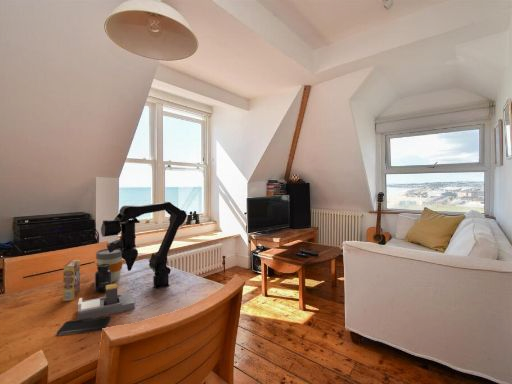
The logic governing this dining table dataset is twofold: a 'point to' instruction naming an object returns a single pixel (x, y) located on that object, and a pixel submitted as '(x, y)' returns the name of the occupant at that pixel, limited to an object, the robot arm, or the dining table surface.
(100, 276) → the supplement bottle
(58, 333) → the phone
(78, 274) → the candy box
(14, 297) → the dining table surface
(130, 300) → the socket plate
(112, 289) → the plug
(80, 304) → the shutter
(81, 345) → the dining table surface
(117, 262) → the reusable coffee cup
